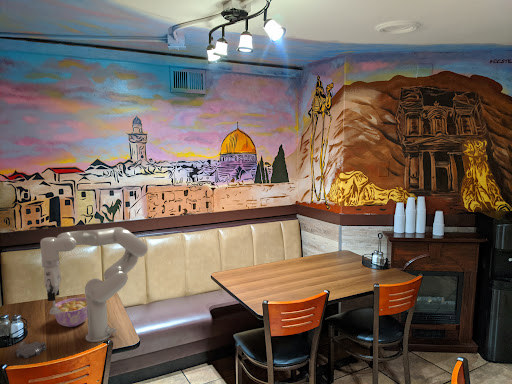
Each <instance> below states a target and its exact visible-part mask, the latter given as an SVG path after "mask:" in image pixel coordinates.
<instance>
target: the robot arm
mask: <svg viewBox="0 0 512 384" xmlns="http://www.w3.org/2000/svg"><path fill="white" fill-rule="evenodd" d="M113 244H118V245H119V246H121V247H122V248H123V249H124V253H123V256H121V257H120V258H119V259H118V260H117V261H115V263H113V264H112V265H110V266H109V267H108V268H107V269H106V270H105V271H104V272H103V278H104V280H101V279H100V278H92V279H89V280H88V281H87V283H86V284H85V286H84V295H85V298H86V302H87V328H88V333H87V334H86V335H85V340H86V341H87V342H89V343H99V342H103V341H105V340H107V339H108V338H110V337H111V335H112V333H113V334H116V333H117V328H115V327H110V326H109V325H108V314H107V313H108V311H107V309H108V308H107V301H108V300H109V299H111V298H112V297H113V296H114V295H115V294H117V293H118V292H119V291H120V290H121V289H123V288H124V287H125V285H126V284H127V282H128V280H129V279H128V278H129V275H128V273H130V272H131V270H132V269H133V268H134V267H135V266H136V265H137V263H138V260H139V258H141V257H144V256H145V255H146V254H147V252H148V245H147V244H146V243H145V242H144V241H143V240H142V239H140V238H139V237H137V236H136V235H135V234H134V233H132V232H131V231H129V230H128V229H126V228H124V227H121V226H117V227H116V226H115V227H110V228H102V229H89V230H73V231H66V232H62V233H59V234H58V235H57V237H54V236H53V237H52V236H51V237H50V236H49V237H47V236H46V237H44V238H41V239H40V256H41V267H42V268H43V273H44V274H43V280H44V287H45V288H46V289H45V290H46V295H47V302H53V301H55V302H56V296H60V288H59V289H58V292H57V294H56V295H55V292H54V287H56V286H57V285H58V280H57V278H59V284H60V282H61V281H62V278H61V277H62V276H61V269H60V253H61V252H71V251H73V250H75V248H76V247H77V246H81V245H84V246H85V245H87V246H92V247H101V246H106V245H113ZM59 276H60V277H59ZM50 285H52V287H50ZM50 288H52V289H50Z"/></svg>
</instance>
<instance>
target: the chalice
mask: <svg viewBox="0 0 512 384" xmlns="http://www.w3.org/2000/svg"><path fill="white" fill-rule="evenodd" d="M59 277H60V276H59ZM57 280H58V285H57V286H56V287H54V292H55V295H56V294H57V292H58V289H59V290H60V283H59V278H57ZM50 287H52V285H50ZM50 289H52V288H50ZM55 304H57V301H56V300H55V301H52V307H51V308H50V310H49V313H48V314H49V315H55V314H57V313H59V312H60V310H59V308H58V307H56V306H55Z"/></svg>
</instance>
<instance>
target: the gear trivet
mask: <svg viewBox="0 0 512 384" xmlns="http://www.w3.org/2000/svg"><path fill="white" fill-rule="evenodd" d="M46 350H47V344H46V342H39V341H34V342H32V343H28V344H27V343H26V344H23V345H22V347H20V348H17V349H16V358H24V359H29V358H30V357H35V356H37V357H38V356H39V355H41V353H42V352H44V351H46Z"/></svg>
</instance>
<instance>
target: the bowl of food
mask: <svg viewBox="0 0 512 384" xmlns="http://www.w3.org/2000/svg"><path fill="white" fill-rule="evenodd" d="M55 306H56V307H58V308H59V310H60V312H59V313H57V314H54V317H55V319H56V322H57V323H58V324H59V325H60V326H61V327H62V326H63V327H67V328H73V327H77V326H79V325H81V324H82V323H84V322H85V321H87V320H88V317H87V302H86V297H73V298H67V299H64V300H61V301H58V302H56V303H55Z"/></svg>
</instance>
